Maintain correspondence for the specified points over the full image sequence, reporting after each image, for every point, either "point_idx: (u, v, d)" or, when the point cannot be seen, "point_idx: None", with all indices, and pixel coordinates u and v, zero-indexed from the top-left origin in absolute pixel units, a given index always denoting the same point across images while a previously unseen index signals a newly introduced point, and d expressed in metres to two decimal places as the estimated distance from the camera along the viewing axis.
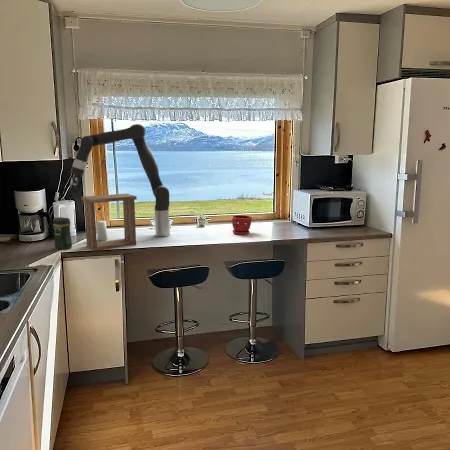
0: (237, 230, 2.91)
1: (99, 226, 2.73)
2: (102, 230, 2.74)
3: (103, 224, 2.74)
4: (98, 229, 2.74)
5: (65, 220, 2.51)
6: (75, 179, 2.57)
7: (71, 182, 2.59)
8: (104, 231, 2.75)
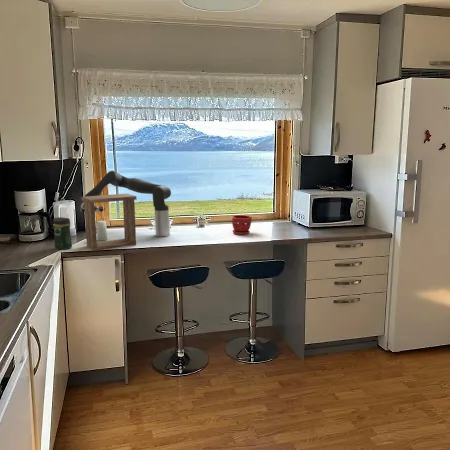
0: (237, 230, 2.91)
1: (99, 226, 2.73)
2: (102, 230, 2.74)
3: (103, 224, 2.74)
4: (98, 229, 2.74)
5: (65, 220, 2.51)
6: (80, 210, 2.88)
7: None
8: (104, 231, 2.75)
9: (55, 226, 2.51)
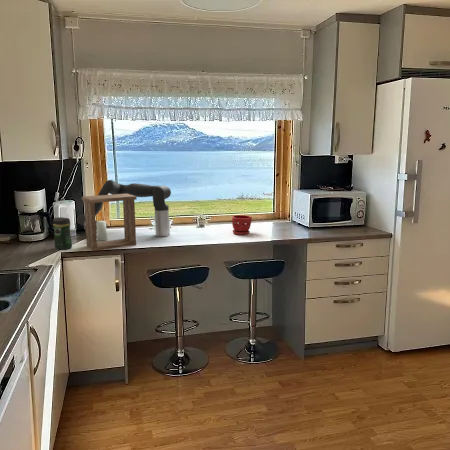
0: (237, 230, 2.91)
1: (99, 226, 2.73)
2: (102, 230, 2.74)
3: (103, 224, 2.74)
4: (98, 229, 2.74)
5: (65, 220, 2.51)
6: (84, 227, 2.85)
7: None
8: (104, 231, 2.75)
9: (55, 226, 2.51)
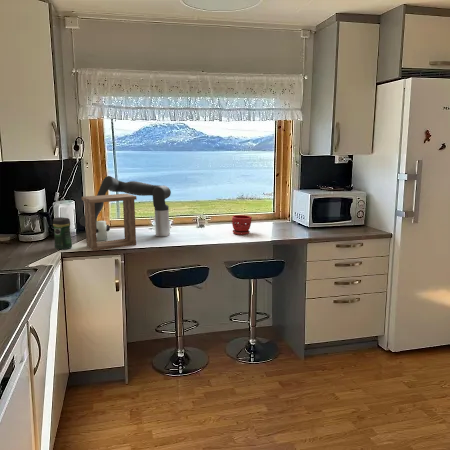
0: (237, 230, 2.91)
1: (99, 226, 2.73)
2: (102, 230, 2.74)
3: (103, 224, 2.74)
4: (98, 229, 2.74)
5: (65, 220, 2.51)
6: None
7: None
8: (104, 231, 2.75)
9: (55, 226, 2.51)
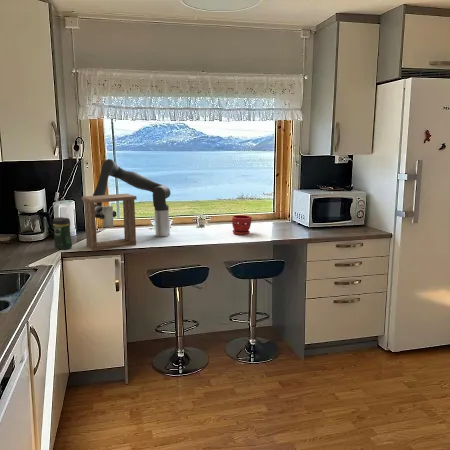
0: (237, 230, 2.91)
1: (105, 211, 2.60)
2: (108, 216, 2.60)
3: (110, 209, 2.60)
4: (104, 215, 2.60)
5: (65, 220, 2.51)
6: None
7: None
8: (110, 217, 2.61)
9: (55, 226, 2.51)
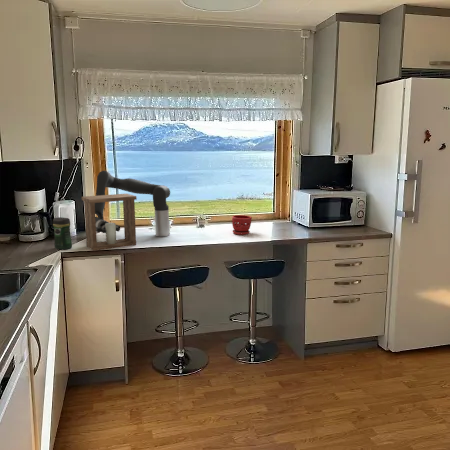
0: (237, 230, 2.91)
1: (108, 228, 2.58)
2: (111, 233, 2.59)
3: (113, 226, 2.59)
4: (107, 232, 2.59)
5: (65, 220, 2.51)
6: (96, 229, 2.64)
7: None
8: (113, 234, 2.60)
9: (55, 226, 2.51)
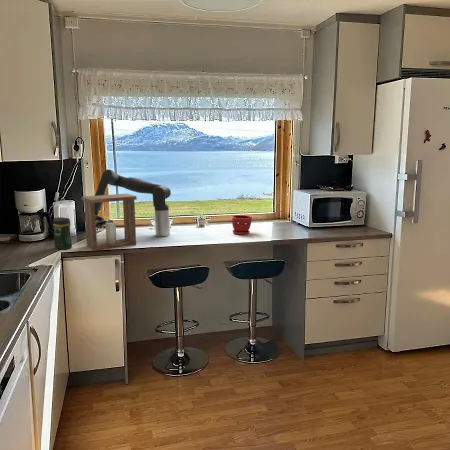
0: (237, 230, 2.91)
1: (108, 228, 2.58)
2: (111, 233, 2.59)
3: (113, 226, 2.59)
4: (107, 232, 2.59)
5: (65, 220, 2.51)
6: None
7: None
8: (113, 234, 2.60)
9: (55, 226, 2.51)
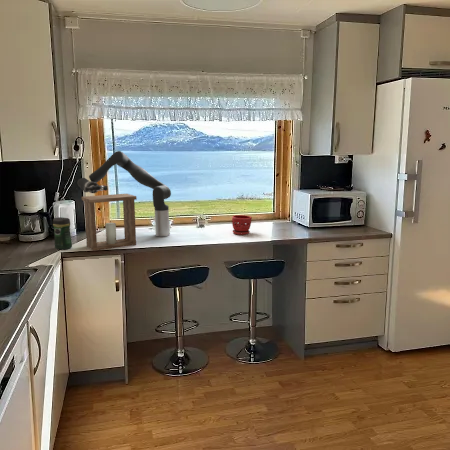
0: (237, 230, 2.91)
1: (108, 228, 2.58)
2: (111, 233, 2.59)
3: (113, 226, 2.59)
4: (107, 232, 2.59)
5: (65, 220, 2.51)
6: (84, 189, 2.81)
7: None
8: (113, 234, 2.60)
9: (55, 226, 2.51)
